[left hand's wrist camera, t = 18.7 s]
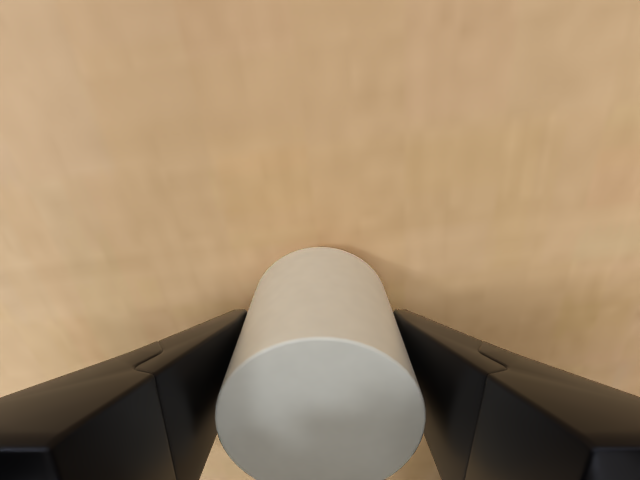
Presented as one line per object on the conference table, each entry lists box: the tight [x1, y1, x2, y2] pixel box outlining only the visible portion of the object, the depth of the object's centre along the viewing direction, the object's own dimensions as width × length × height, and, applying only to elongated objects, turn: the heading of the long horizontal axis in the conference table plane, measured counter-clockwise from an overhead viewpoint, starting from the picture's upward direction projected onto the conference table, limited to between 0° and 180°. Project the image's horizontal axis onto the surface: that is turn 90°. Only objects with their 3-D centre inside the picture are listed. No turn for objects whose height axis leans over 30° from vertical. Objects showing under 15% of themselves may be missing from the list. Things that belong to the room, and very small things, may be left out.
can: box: [215, 247, 426, 480], centre depth 10 cm, size 5×5×5 cm
